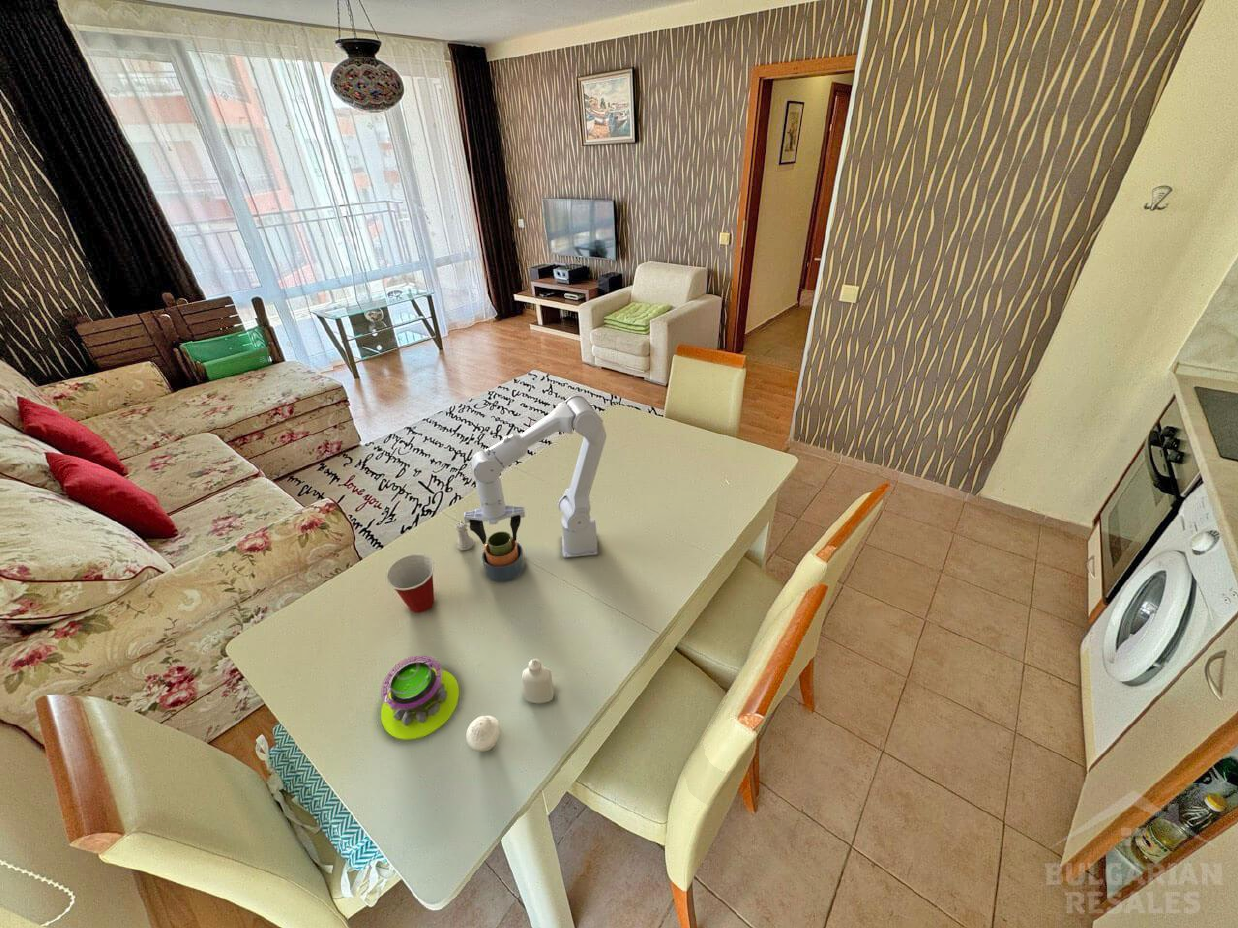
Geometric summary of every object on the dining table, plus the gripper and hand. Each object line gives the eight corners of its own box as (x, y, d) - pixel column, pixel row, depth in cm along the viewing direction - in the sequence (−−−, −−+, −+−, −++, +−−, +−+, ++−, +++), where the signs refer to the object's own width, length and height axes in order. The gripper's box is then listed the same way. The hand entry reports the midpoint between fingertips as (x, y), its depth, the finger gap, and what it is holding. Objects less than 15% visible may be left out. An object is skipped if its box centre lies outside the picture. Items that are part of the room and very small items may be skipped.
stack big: (525, 551, 135) (523, 538, 132) (524, 579, 126) (521, 565, 123) (487, 555, 134) (484, 541, 131) (483, 583, 125) (479, 569, 122)
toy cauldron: (428, 656, 107) (416, 624, 101) (474, 692, 100) (464, 659, 94) (365, 711, 97) (347, 678, 91) (411, 755, 90) (396, 723, 84)
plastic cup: (401, 629, 114) (387, 593, 107) (396, 597, 122) (382, 562, 115) (448, 611, 118) (438, 576, 111) (440, 581, 126) (430, 547, 119)
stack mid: (521, 554, 134) (517, 534, 130) (520, 576, 127) (516, 555, 123) (490, 557, 133) (486, 537, 129) (488, 579, 126) (483, 558, 122)
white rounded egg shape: (462, 752, 90) (455, 732, 86) (481, 721, 95) (475, 701, 91) (491, 764, 88) (485, 744, 84) (509, 732, 93) (504, 712, 89)
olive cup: (514, 547, 130) (511, 530, 127) (513, 562, 126) (510, 545, 122) (492, 549, 130) (488, 532, 126) (490, 565, 125) (486, 547, 122)
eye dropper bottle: (535, 681, 102) (528, 645, 95) (557, 692, 100) (552, 656, 93) (522, 698, 99) (514, 662, 92) (545, 711, 97) (538, 675, 90)
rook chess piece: (469, 552, 135) (464, 530, 130) (454, 550, 136) (449, 528, 131) (476, 541, 138) (471, 519, 134) (462, 539, 139) (456, 517, 135)
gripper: (458, 510, 113) (469, 553, 121) (521, 504, 115) (528, 547, 122) (462, 492, 119) (472, 534, 126) (522, 487, 120) (528, 529, 128)
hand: (499, 539), depth 125 cm, fingers open, 7 cm apart
